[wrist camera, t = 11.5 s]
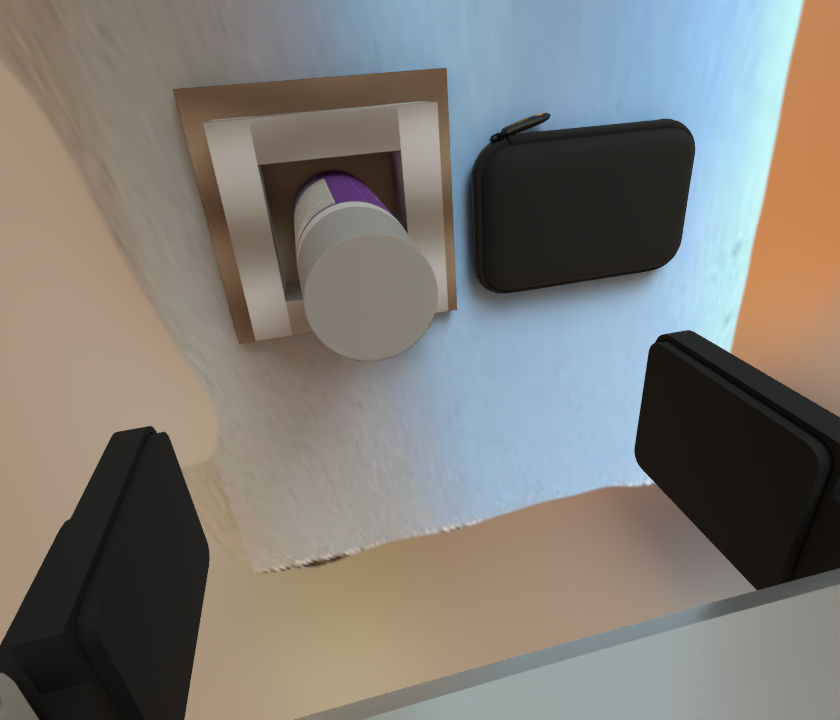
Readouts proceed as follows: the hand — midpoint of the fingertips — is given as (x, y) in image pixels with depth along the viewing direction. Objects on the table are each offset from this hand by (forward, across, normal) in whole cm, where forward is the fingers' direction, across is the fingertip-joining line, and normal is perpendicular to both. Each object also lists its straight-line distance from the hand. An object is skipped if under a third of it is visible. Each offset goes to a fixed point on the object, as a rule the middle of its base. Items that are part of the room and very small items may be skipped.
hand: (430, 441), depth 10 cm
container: (+23, 0, 0) cm, 23 cm away
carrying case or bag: (+25, -16, +1) cm, 29 cm away
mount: (+24, 0, 0) cm, 24 cm away
